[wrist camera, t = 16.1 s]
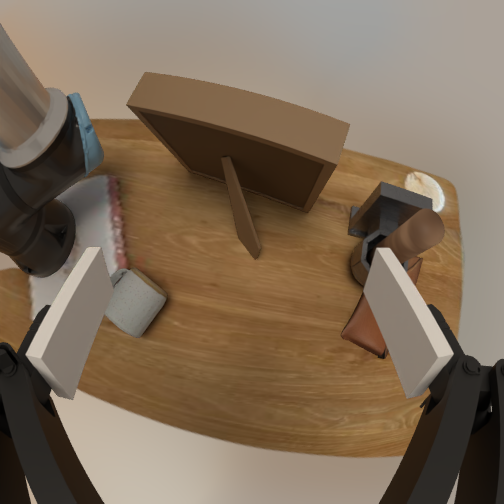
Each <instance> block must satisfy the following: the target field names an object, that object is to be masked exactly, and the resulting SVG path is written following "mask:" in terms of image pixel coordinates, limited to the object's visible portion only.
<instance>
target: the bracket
mask: <svg viewBox="0 0 504 504" xmlns="http://www.w3.org/2000/svg"><path fill="white" fill-rule="evenodd" d="M425 208H427V209H431V210H432V199H431V198H428V197H425V196H423V195H420V194H417V193H414V192H411V191H409V190H406V189H403V188H400V187H397V186H394V185H391V184H388V183H385V182H382V181H381V182H380V184H379V185H378V186H377V188H376V189H375V190H374V191H373V193H372V194H371V195H370V196H369V198H368V199H367V200H366V201H365V203H364V204H363V205H362V206H361V208H358V207H355V206H352V207H351V213H350V221H349V228H348V235H351V236H355V237H359V238H362V239H364V240H363V241H362V242H360V243H359V244H358V245H357V246H356V247H355V248H354V252H353V253H352V256H351V270H352V273H353V275H354V277H355V278H356V280H357V281H358V282H359V283H360V284H362V285H363V286H365V284H366V281H367V278H368V274H369V271H370V268H371V267H370V265H369V264H368V262H367V261H366V255H367V252H368V251H369V250H370V249H372V248H373V247H374V246H375V245H377V244H378V243H379V242H381V241H382V240H383V239H385V238H386V237H387V236H388V235H390V234H391V233H392V232H393V231H395V230H396V229H397V228H398V227H400V226H401V225H402V224H403V223H405V222H406V221H407V220H408V219H410V218H411V217H412V216H413V215H415V214H416V213H417V212H418V211H420V210H421V209H425ZM401 265H402V267H403V268H404V270H405V271H406V273H407V270H408V261H406V262H404V263H402V264H401Z"/></svg>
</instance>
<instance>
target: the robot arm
mask: <svg viewBox="0 0 504 504" xmlns="http://www.w3.org/2000/svg"><path fill="white" fill-rule="evenodd" d="M103 159H104V152H103V149H102V147H101V144H100V142H99V140H98V138H97V135H96V133H95V131H94V128H93V126H92V124H91V121H90V119H89V116H88V114H87V111H86V109H85V107H84V104H83V101H82V99H81V97H80V94H79V93H73V94H69V95H68V96H67V97H66V96H65V94H64V93H63V92H61V90H59V89H56V88H44V87H43V85H42V84H41V83H40V81H39V80H38V78H37V77H36V76H35V74H34V73H33V71H32V70H31V69H30V67H29V66H28V64H27V63H26V61H25V60H24V59H23V57H22V56H21V54H20V53H19V51H18V50H17V48H16V47H15V45H14V44H13V42H12V41H11V39H10V38H9V36H8V35H7V33H6V31H5V30H4V28H3V27H2V25H1V24H0V252H2V253H4V254H6V255H8V256H9V257H10V258H11V259H12V260H13V261H14V262H15V263H16V264H17V265H18V267H19V268H20V269H21V270H22V271H24V272H25V273H27V274H29V275H32V276H34V277H46V276H49V275H51V274H53V273H54V272H56V271H57V270H58V269H59V268H60V267H61V266H62V265H63V264H64V262H65V261H66V259H67V258H68V256H69V254H70V252H71V249H72V246H73V243H74V238H75V221H74V217H73V215H72V213H71V211H70V210H69V208H68V207H67V206H66V205H64V204H63V203H62V202H60V201H59V200H57V199H54V198H56V197H57V196H58V195H60V194H61V193H62V192H64V191H65V190H67V189H68V188H69V187H71V186H72V185H74V184H75V183H77V182H78V181H79V180H81V179H82V178H84V177H86V176H87V175H88V174H89V173H90V172H91V171H92V170H93V169H95V168H96V167H97V166H99V165H100V164H101V163H102V161H103ZM113 292H114V289H113V286H112V283H111V280H110V276H109V273H108V270H107V266H106V263H105V260H104V256H103V252H102V249H101V247H87V249H86V250H85V252H84V253H83V255H82V256H81V258H80V259H79V261H78V263H77V264H76V266H75V267H74V269H73V270H72V272H71V273H70V275H69V277H68V278H67V280H66V282H65V283H64V285H63V286H62V288H61V290H60V291H59V293H58V295H57V297H56V298H55V300H54V302H53V303H52V305H46V306H45V307H44V308H43V309H42V310H41V311H40V312H39V313H38V314H37V316H36V318H35V319H34V321H33V323H32V325H31V327H30V330H29V331H28V332H27V334H26V336H25V338H24V340H23V342H22V344H21V346H20V348H19V350H18V352H17V354H16V352H15V351H14V350H13V348H12V347H11V345H9V344H8V343H5V342H2V343H0V504H31V501H30V497H29V493H28V488H27V483H26V478H27V481H28V483H29V486H30V488H31V490H32V493H33V495H34V497H35V499H36V501H37V504H104V502H103V501H102V499H101V497H100V496H99V494H98V493H97V491H96V489H95V488H94V486H93V484H92V482H91V481H90V479H89V477H88V475H87V474H86V472H85V470H84V468H83V466H82V464H81V463H80V461H79V459H78V457H77V455H76V453H75V451H74V449H73V447H72V445H71V443H70V440H69V438H68V436H67V434H66V431H65V429H64V427H63V425H62V422H61V420H60V418H59V415H58V413H57V410H56V408H55V405H54V403H53V400H52V398H51V397H50V392H51V389H52V390H53V391H54V392H55V393H56V395H57V396H59V397H63V398H67V399H71V400H73V398H74V395H75V392H76V389H77V386H78V383H79V380H80V377H81V374H82V371H83V368H84V365H85V362H86V360H87V357H88V354H89V352H90V349H91V346H92V344H93V341H94V338H95V336H96V333H97V331H98V328H99V326H100V323H101V321H102V318H103V316H104V313H105V311H106V309H107V306H108V304H109V302H110V299H111V297H112V295H113ZM363 292H364V294H365V297H366V299H367V301H368V303H369V305H370V308H371V310H372V312H373V315H374V317H375V319H376V321H377V324H378V326H379V329H380V331H381V333H382V336H383V338H384V340H385V343H386V345H387V348H388V350H389V353H390V355H391V358H392V360H393V363H394V365H395V368H396V371H397V373H398V376H399V379H400V381H401V384H402V387H403V389H404V392H405V395H406V398H411V397H416V396H420V395H422V394H423V393H424V392H425V391H426V389H427V388H428V387H429V389H430V392H431V394H430V395H429V396H428V397H427V398H426V399H425V400H424V402H423V403H422V404H421V405H420V408H422V407H423V406H424V405H425V407H424V409H423V412H422V415H421V417H420V420H419V422H418V425H417V427H416V430H415V432H414V435H413V437H412V439H411V442H410V444H409V446H408V448H407V451H406V453H405V455H404V457H403V459H402V461H401V463H400V465H399V468H398V469H397V471H396V474H395V475H394V477H393V479H392V481H391V483H390V485H389V486H388V488H387V490H386V492H385V494H384V495H383V497H382V499H381V500H380V502H379V504H447V502H448V499H449V497H450V494H451V492H452V489H453V487H454V484H455V481H456V479H457V476H458V473H459V479H458V485H457V491H456V497H455V503H454V504H504V359H500V360H499V361H497V363H496V364H495V365H494V366H493V367H491V366H481V365H480V363H479V362H478V361H477V360H476V359H475V358H474V357H472V356H468V355H465V354H464V352H463V351H462V349H461V347H460V345H459V343H458V341H457V340H456V338H455V336H454V334H453V333H452V331H451V330H450V327H449V326H448V324H447V322H445V321H446V320H445V319H444V317H443V315H442V314H441V312H440V311H439V310H438V309H437V308H436V307H435V306H433V305H432V304H430V305H426V303H425V302H424V300H423V298H422V297H421V295H420V293H419V292H418V290H417V289H416V287H415V285H414V284H413V282H412V281H411V279H410V277H409V276H408V274H407V273H406V271H405V270H404V268H403V267H402V265H401V264H400V262H399V261H398V259H397V258H396V256H395V255H394V253H393V252H392V250H391V249H390V248H376V251H375V254H374V258H373V261H372V265H371V268H370V271H369V274H368V278H367V281H366V284H365V287H364V290H363ZM491 406H492V412H491ZM459 470H460V472H459ZM25 476H26V478H25Z"/></svg>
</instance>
